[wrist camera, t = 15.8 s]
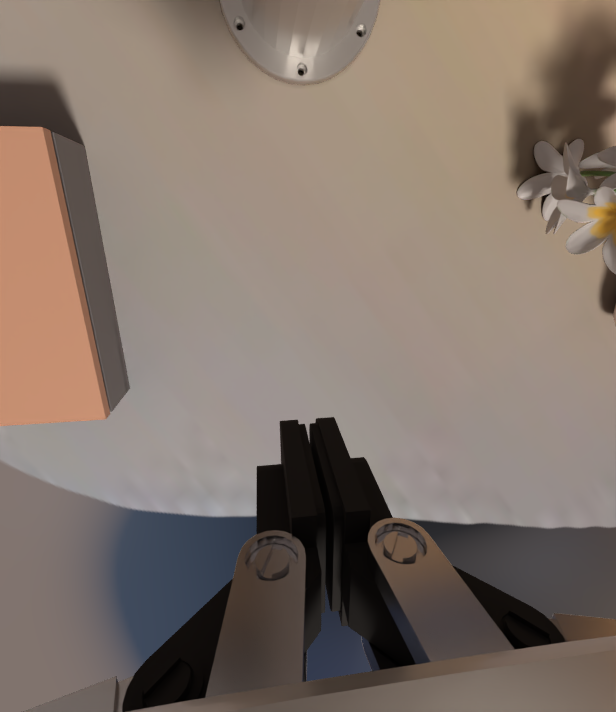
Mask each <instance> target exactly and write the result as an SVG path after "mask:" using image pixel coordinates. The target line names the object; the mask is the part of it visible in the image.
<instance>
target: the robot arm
mask: <svg viewBox="0 0 616 712" xmlns="http://www.w3.org/2000/svg"><path fill="white" fill-rule="evenodd" d="M220 5H221V9H222V13H223V16H224V18H225V21H226V24H227V26H228V29H229V31H230V33H231V35H232V36H233V38H234V40H235V42H236V43H237V45H238V47H239V48H240V49H241V51H242V52H243V53H244V54H245V55H246V57H247V58H248V59H249V60H250V61H251V62H252V63H253V64H254V65H255V66H257V67H258V68H259V69H260V70H261V71H262V72H264V73H266V74H268V75H269V76H271V77H273V78H275V79H277V80H280V81H283V82H286V83H289V84H296V85H310V84H318V83H321V82H323V81H326V80H329V79H331V78H333V77H335V76H336V75H338V74H339V73H341V72H342V71H344V70H345V69H346V68H347V67H348V66H349V65H350V64H351V63H352V62H353V61H354V60H355V59H356V57H357V56H358V54H359V53H360V52H361V50H362V49H363V47H364V46H365V44H366V42H367V40H368V39H369V37H370V35H371V32H372V29H373V27H374V24H375V21H376V18H377V15H378V10H379V5H380V0H220ZM238 26H242V27H243V30H240V31H239V30H237V27H238ZM357 32H359V33H360V34H361V37H359V36H358V35H357V34H356V33H357ZM299 70H301V71H303V73H304V75H303V76H300V75H299V74H298V71H299ZM280 441H281V464H278V465H266V466H257V535H255V536H254V537H252V538H251V539H249V540H248V541H247V542H246V543H245V545H244V546H243V547H242V548H241V551H240V553H239V556H238V559H237V564H236V568H235V572H234V577H233V579H232V580H231V581H230V582H229V583H228V584H227V585H225V586H224V587H223V588H222V589H221V590H220V591H219V592H218V593H217V594H216V595H215V596H214V597H213V598H212V599H211V600H210V601H209V602H207V604H205V605H204V606H203V607H202V608H201V609H200V610H199V611H198V612H197V613H196V614H195V615H194V616H193V617H192V618H191V619H190V620H189V621H188V622H186V623H185V624H184V625H183V626H182V627H181V628H180V629H179V630H178V631H177V632H176V633H175V634H174V635H173V636H172V637H170V638H169V639H168V640H167V641H166V642H165V643H164V644H163V645H162V646H161V647H160V648H159V649H158V650H157V651H156V652H155V653H154V654H152V656H150V657H149V658H148V659H147V660H146V661H145V663H144V664H143V665H142V666H141V667H140V668H139V669H138V671H137V672H136V673H135V675H134V676H132V677H130V678H127V679H125V680H122V681H119V682H118V680H117V676H115V677H112V678H110V679H107V680H104V681H102V682H99V683H97V684H94V685H91V686H89V687H87V688H84V689H81V690H78V691H76V692H73V693H71V694H68V695H65V696H63V697H60V698H58V699H55V700H52V701H50V702H47V703H44V704H42V705H39V706H36V707H34V708H32V709H29V710H26V711H23V712H616V619H607V618H597V617H587V616H578V615H568V614H559V613H553V616H552V619H550V618H547V617H546V616H545V615H543V614H542V613H540V612H539V611H537V610H536V609H534V608H533V607H531V606H529V605H527V604H525V603H524V602H521V601H520V600H518V599H516V598H514V597H512V596H510V595H508V594H506V593H504V592H502V591H501V590H499V589H497V588H495V587H493V586H491V585H489V584H487V583H485V582H483V581H481V580H479V579H477V578H476V577H474V576H472V575H470V574H468V573H466V572H464V571H462V570H460V569H458V568H456V567H454V566H452V565H451V564H450V562H449V561H448V560H447V558H446V557H445V555H444V554H443V553H442V551H441V550H440V549H439V547H438V546H437V545H436V543H435V542H434V541H433V539H432V538H431V537H430V535H429V534H428V533H427V532H426V531H425V530H424V529H423V528H421V527H420V526H418V525H417V524H415V523H414V522H411V521H408V520H405V519H400V518H393V517H392V515H391V513H390V511H389V508H388V506H387V504H386V502H385V500H384V498H383V495H382V493H381V491H380V489H379V487H378V485H377V482H376V480H375V478H374V476H373V474H372V471H371V469H370V467H369V465H368V463H367V461H366V459H365V458H364V457H361V458H350V456H349V453H348V451H347V448H346V446H345V443H344V441H343V438H342V436H341V433H340V431H339V428H338V426H337V423H336V421H335V418H334V417H331V418H316V423H312V424H310V444H309V440H308V435H307V431H306V427H305V424H298V420H288V421H280ZM325 584H326V589H327V594H328V599H329V605H330V609H331V611H339V615H340V620H341V625H342V626H347V625H348V626H349V627H350V628H351V629H353V630H354V631H355V632H357V633H358V634H359V635H361V636H362V644H363V648H364V651H365V654H366V657H367V659H368V662H369V664H370V667H371V669H372V671H371V672H365V673H358V674H352V675H346V676H339V677H333V678H326V679H320V680H313V681H307V682H306V679H307V649H308V648H309V647H310V645H311V644H312V642H313V641H314V640H315V638H316V637H317V635H318V634H319V632H320V631H321V613H324V612H325Z"/></svg>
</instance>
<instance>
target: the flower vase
mask: <svg viewBox="0 0 616 712" xmlns="http://www.w3.org/2000/svg"><path fill="white" fill-rule="evenodd" d="M583 152H584V141H583V140H581V139H576V140H574V141H573V142H572V143H571V144H570V145H569V146H568V145H567V143H565V145H564V151H563V156H562V155H561V154H559V152H558V151H557V150H556V149H555V148H554V147H553V146H552V145H551V144H549V143H548V142H545V141H539V142H538V143H537V144H536V145H535V147H534V157H535V160H536V162H537V164H538V165H539V167H540V168H541V169H542V170H544V171H547V172H551V173H544V174H540V175H537V176H534V177H532V178H530V179H528V180H527V181H525V182H524V183H523V184H522V185H521V186H520V187H519V189H518V191H517V196H518V197H519V198H520V199H523V200H530V199H535V198H538V197H541V196H544V195H547V194H549V193H551V194H550V195H548V196H547V198H546V199H545V201H544V204H543V209H542V214H543V218H544V220H546V221H548V224H547V228H546V234H548V233H549V232H550V231H551V230H552V229H553V228H554V227H555V229H554V233H553V234H555V233H556V231H557V230H558V229H559V227H560V226H561V225H562V223H563V222H564V221H565V220H566V218H568V219H570V220H572V221H575V222H579V223H585V222H589V223H588V224H586V225H584V226H582V227H581V228H579V229H578V230H576V231H575V232H574V233H573V234H572V235H570V237H569V238H568V240H567V242H566V249H567V250H568V251H569V253H571V254H583V253H586V252H589V251H591V250H593V249H595V248H596V247H597V246H599V245H600V244H602V243H603V242H604V241H605V240H606V239H607V240H606V242H605V244H604V246H603V249H602V254H603V258H604V261H605V263H606V265H607V267H608V268H609V269H610V270H611V271H612V272H613V273H614V274H616V146H613V147H610V148H607V149H604V150H603V151H601V152H598V153H595V154H593V155H591V156H589V157H587V158H585V159H584V160H582V161H581V158H582V155H583ZM580 161H581V162H580ZM580 168H604V169H603V170H601V171H581V172H580V171H579V170H580ZM585 176H595V179H599V178H603V177H608V178H606V179H605V180H604V181H603V182H602V183H601V185H600V187H599V189H590V188H589V187H588V182H587V180H586V178H585ZM589 195H594V203H595V204H587V203H583V202H582V201H583V200H584V199H585V198H586V197H588V196H589ZM590 221H592V222H590ZM613 317H614V321H615V326H616V304H615V309H614V314H613Z"/></svg>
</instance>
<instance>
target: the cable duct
mask: <svg viewBox="0 0 616 712" xmlns="http://www.w3.org/2000/svg"><path fill="white" fill-rule="evenodd" d="M51 136H52V141H53V146H54V150H55V155H56V160H57V164H58V169H59V174H60V179H61V183H62V188H63V193H64V198H65V202H66V207H67V212H68V216H69V221H70V226H71V231H72V235H73V240H74V245H75V250H76V254H77V259H78V264H79V268H80V273H81V278H82V283H83V287H84V292H85V297H86V302H87V306H88V311H89V316H90V320H91V325H92V330H93V335H94V339H95V344H96V349H97V354H98V358H99V363H100V368H101V372H102V377H103V382H104V387H105V391H106V396H107V401H108V406H109V410H110V412H112V411H113V410H114V408H115V407H116V406H117V404H118V403H119V402H120V400H121V399H122V398H123V397H124V395H125V394H126V393H127V391H128V390H129V389H130V387H129V382H128V376H127V371H126V365H125V360H124V355H123V349H122V344H121V339H120V333H119V328H118V323H117V317H116V312H115V306H114V301H113V296H112V290H111V285H110V280H109V274H108V269H107V264H106V258H105V253H104V247H103V242H102V237H101V231H100V226H99V221H98V215H97V210H96V205H95V199H94V194H93V188H92V183H91V178H90V172H89V167H88V162H87V156H86V151H85V146H84V145H81V144H79V143H77V142H75V141H73V140H70V139H68V138H66V137H64V136H61V135H59V134H57V133H55V132H51Z"/></svg>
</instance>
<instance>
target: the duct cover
mask: <svg viewBox="0 0 616 712" xmlns="http://www.w3.org/2000/svg"><path fill="white" fill-rule="evenodd" d="M109 415H110V410H109V406H108V401H107V396H106V391H105V387H104V382H103V377H102V372H101V368H100V363H99V358H98V354H97V349H96V344H95V339H94V335H93V330H92V325H91V320H90V316H89V311H88V306H87V302H86V297H85V292H84V287H83V283H82V278H81V273H80V268H79V264H78V259H77V254H76V250H75V245H74V240H73V235H72V231H71V226H70V221H69V216H68V212H67V207H66V202H65V198H64V193H63V188H62V183H61V179H60V174H59V169H58V164H57V160H56V155H55V150H54V146H53V141H52V136H51V131H50V130H48V129H46V128H43V127H18V126H0V426H8V425H24V424H40V423H55V422H71V421H87V420H103V419H107V417H108V416H109Z"/></svg>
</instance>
